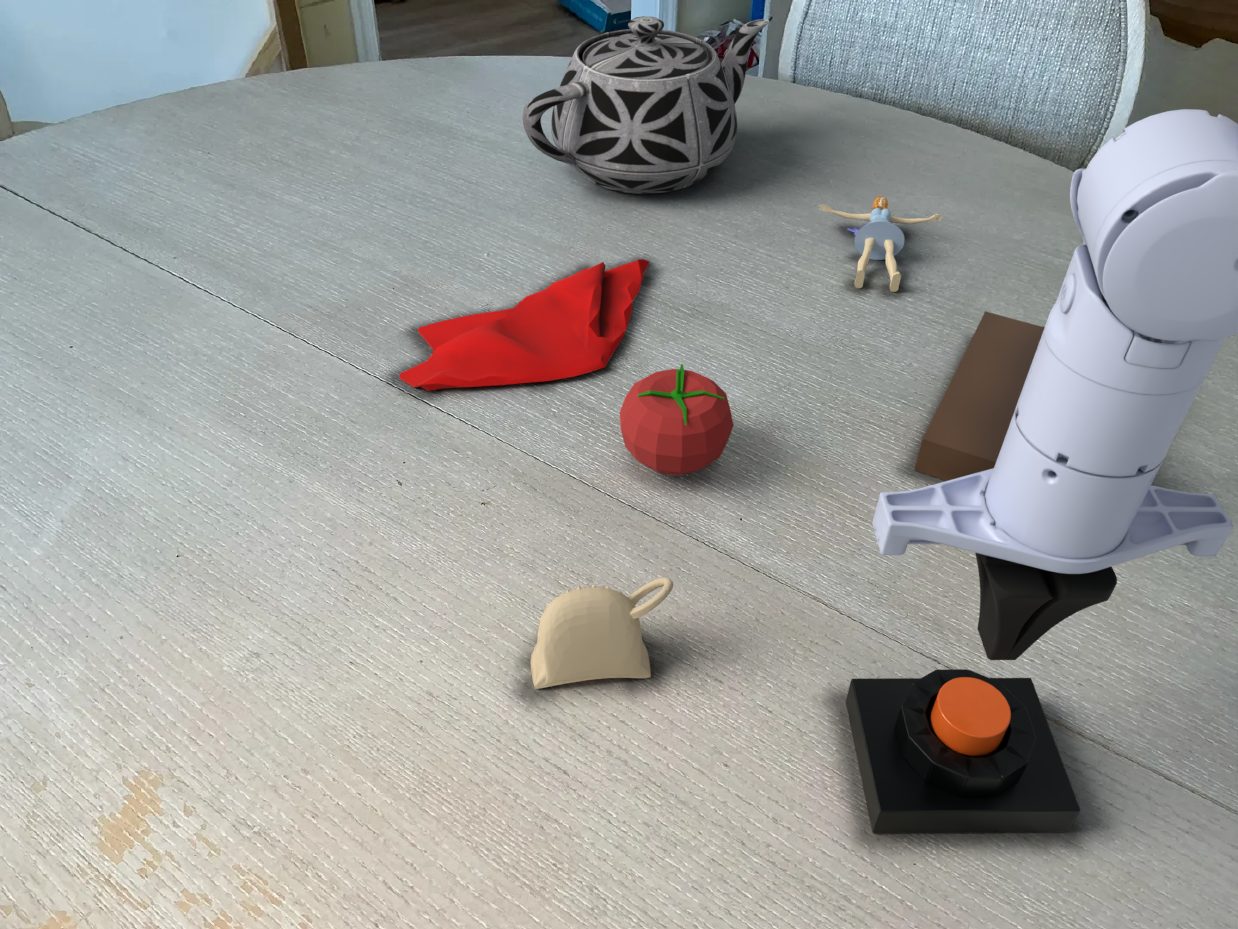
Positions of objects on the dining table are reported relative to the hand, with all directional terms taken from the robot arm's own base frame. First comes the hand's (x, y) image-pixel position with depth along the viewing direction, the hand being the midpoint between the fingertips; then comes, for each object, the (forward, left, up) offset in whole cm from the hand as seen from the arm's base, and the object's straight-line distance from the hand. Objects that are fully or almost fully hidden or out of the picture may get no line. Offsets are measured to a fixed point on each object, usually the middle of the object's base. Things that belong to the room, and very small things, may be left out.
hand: (996, 643), depth 49 cm
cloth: (+40, -23, -9) cm, 47 cm away
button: (0, +1, -6) cm, 6 cm away
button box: (0, +1, -9) cm, 9 cm away
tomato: (+24, -14, -9) cm, 29 cm away
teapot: (+47, -55, -9) cm, 73 cm away
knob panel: (+1, -29, -9) cm, 31 cm away
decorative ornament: (+20, +4, -9) cm, 22 cm away
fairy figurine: (+20, -48, -9) cm, 53 cm away
